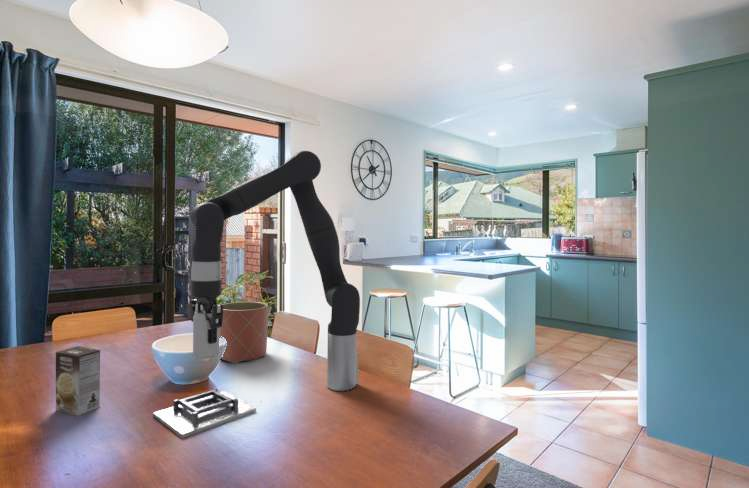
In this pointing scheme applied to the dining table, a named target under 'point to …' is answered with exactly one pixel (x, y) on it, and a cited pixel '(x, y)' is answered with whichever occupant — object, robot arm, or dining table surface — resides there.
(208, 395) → the collar stand
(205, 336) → the beverage can
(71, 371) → the coffee box
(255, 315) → the planter
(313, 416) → the dining table surface
